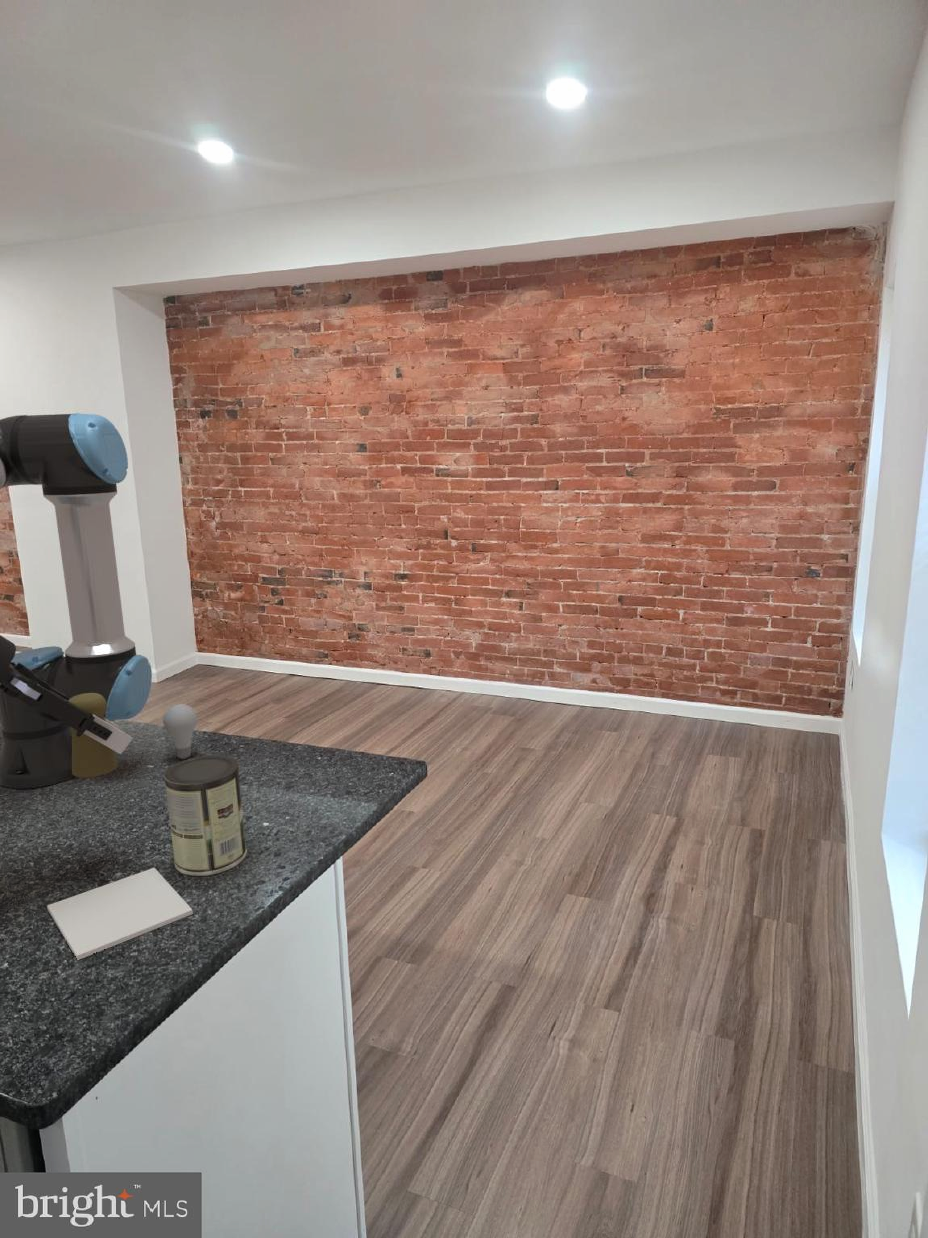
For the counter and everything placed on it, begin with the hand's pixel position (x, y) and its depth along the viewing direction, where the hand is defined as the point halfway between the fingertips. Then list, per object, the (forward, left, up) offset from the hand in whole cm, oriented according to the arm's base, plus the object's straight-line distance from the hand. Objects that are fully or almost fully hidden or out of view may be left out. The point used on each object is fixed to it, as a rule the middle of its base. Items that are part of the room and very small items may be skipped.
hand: (119, 739), depth 115 cm
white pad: (+15, -7, -18) cm, 24 cm away
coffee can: (+10, +8, -18) cm, 22 cm away
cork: (0, -4, -4) cm, 5 cm away
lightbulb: (-30, +19, -18) cm, 40 cm away
